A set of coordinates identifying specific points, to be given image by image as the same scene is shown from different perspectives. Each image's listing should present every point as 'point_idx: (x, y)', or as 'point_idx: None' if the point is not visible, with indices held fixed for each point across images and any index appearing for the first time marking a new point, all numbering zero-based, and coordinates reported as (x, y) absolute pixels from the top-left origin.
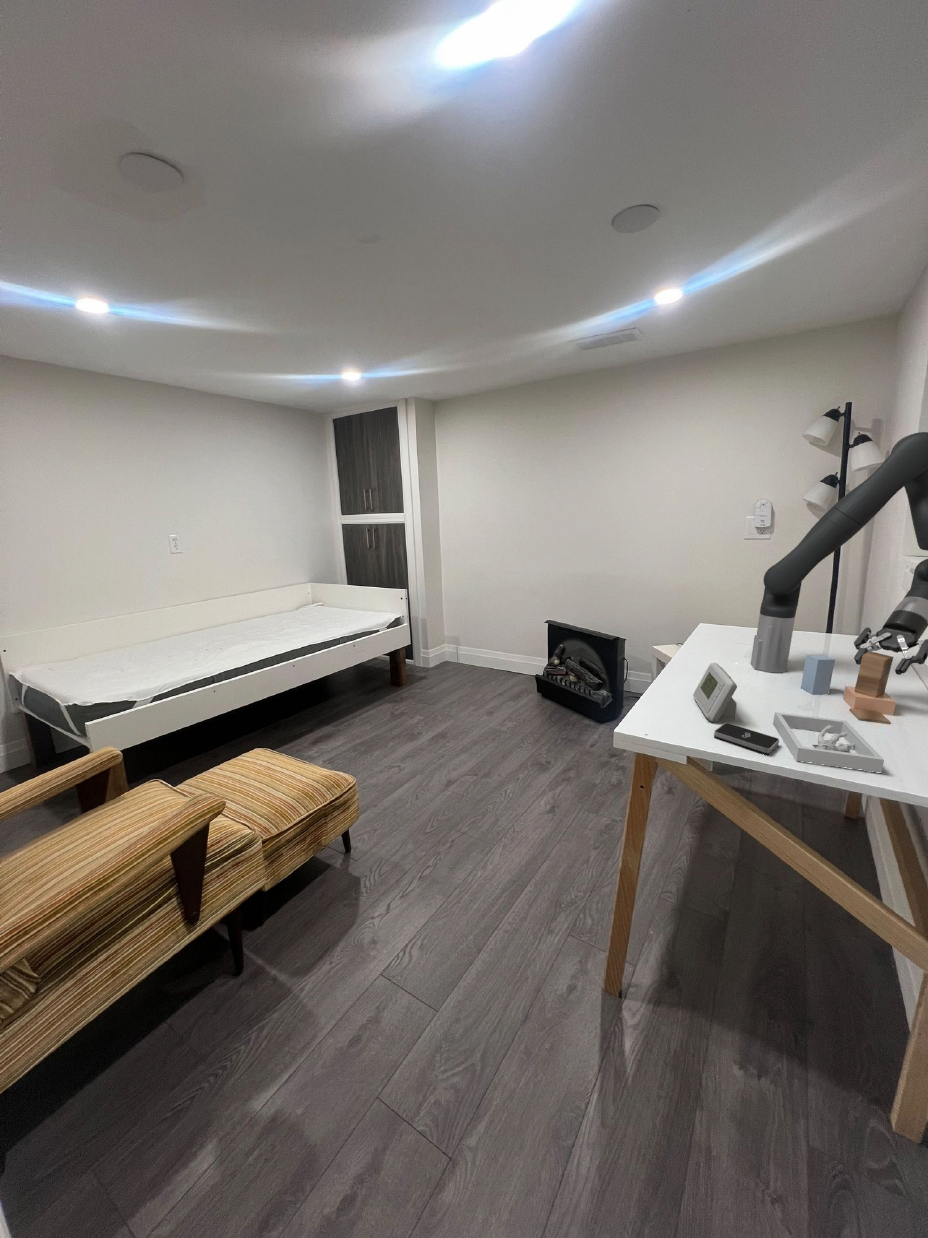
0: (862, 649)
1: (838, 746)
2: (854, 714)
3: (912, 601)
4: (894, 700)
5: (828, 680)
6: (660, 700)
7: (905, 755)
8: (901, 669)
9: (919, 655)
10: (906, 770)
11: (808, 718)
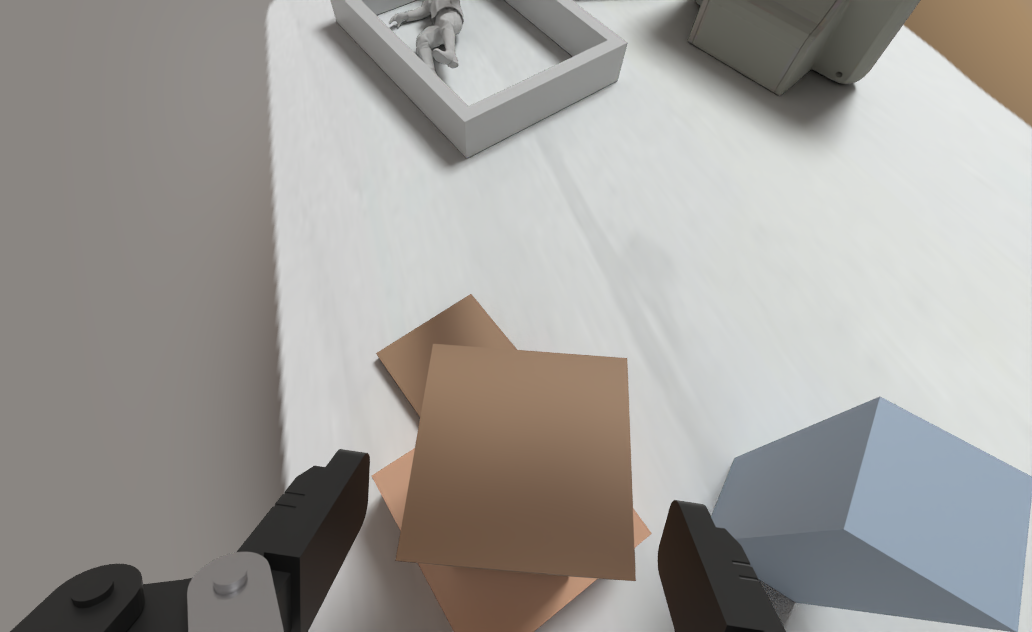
0: (753, 623)
1: (434, 29)
2: (502, 335)
3: None
4: (383, 493)
5: (749, 522)
6: None
7: (302, 140)
8: (320, 473)
9: (74, 596)
10: (293, 68)
11: (548, 70)
